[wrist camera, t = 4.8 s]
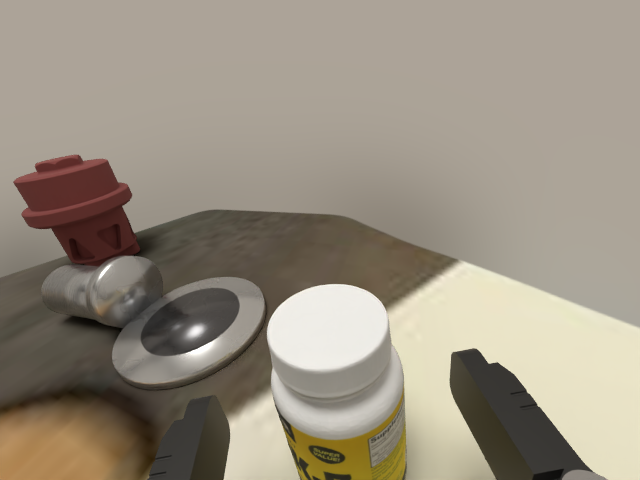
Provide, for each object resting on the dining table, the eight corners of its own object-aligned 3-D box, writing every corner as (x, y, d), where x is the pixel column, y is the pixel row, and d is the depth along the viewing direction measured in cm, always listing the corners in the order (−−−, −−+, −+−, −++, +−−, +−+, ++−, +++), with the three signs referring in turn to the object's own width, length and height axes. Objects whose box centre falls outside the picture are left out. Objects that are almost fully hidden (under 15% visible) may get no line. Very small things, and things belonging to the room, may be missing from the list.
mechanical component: (87, 291, 31) (48, 274, 36) (171, 245, 39) (128, 236, 44) (15, 173, 26) (-20, 173, 31) (128, 145, 33) (85, 149, 38)
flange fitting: (15, 353, 24) (-32, 296, 22) (131, 274, 33) (107, 228, 31) (208, 407, 17) (171, 333, 15) (288, 289, 26) (274, 231, 24)
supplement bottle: (278, 469, 14) (225, 331, 10) (344, 393, 17) (321, 264, 13) (364, 565, 11) (333, 418, 7) (427, 452, 14) (429, 303, 10)
